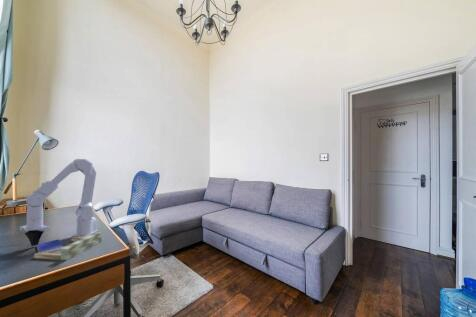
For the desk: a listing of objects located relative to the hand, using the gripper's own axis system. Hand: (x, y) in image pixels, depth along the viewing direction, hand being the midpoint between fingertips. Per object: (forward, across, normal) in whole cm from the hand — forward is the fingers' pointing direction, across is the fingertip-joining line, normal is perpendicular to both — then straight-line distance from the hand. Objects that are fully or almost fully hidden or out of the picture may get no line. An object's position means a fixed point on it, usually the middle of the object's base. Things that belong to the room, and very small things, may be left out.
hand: (34, 245), depth 97 cm
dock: (+1, +20, 0) cm, 20 cm away
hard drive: (+2, +8, 0) cm, 8 cm away
